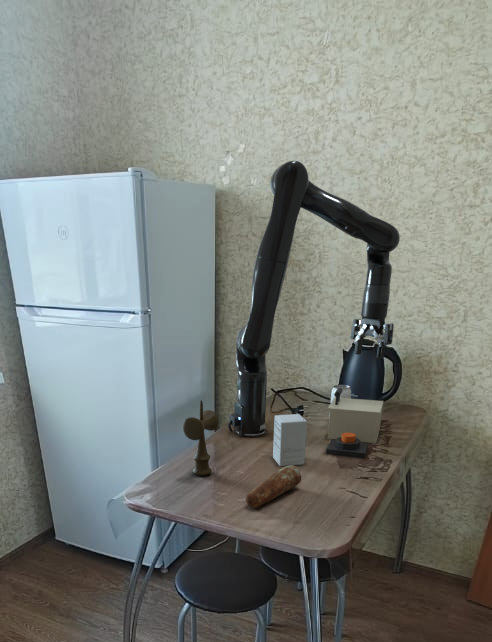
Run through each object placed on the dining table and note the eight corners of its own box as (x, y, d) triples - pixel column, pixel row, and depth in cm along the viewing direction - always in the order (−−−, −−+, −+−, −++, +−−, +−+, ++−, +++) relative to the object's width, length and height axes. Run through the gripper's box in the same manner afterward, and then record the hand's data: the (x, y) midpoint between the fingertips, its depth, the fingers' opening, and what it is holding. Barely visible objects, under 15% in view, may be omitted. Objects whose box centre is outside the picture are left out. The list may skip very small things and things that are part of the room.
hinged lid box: (327, 438, 181) (330, 410, 177) (333, 426, 192) (336, 400, 188) (375, 443, 176) (379, 415, 172) (379, 430, 188) (383, 403, 184)
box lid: (327, 410, 177) (328, 394, 175) (334, 399, 188) (335, 384, 186) (379, 415, 172) (381, 398, 170) (383, 403, 184) (385, 387, 181)
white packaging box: (296, 456, 167) (299, 413, 161) (304, 465, 160) (308, 420, 154) (272, 457, 166) (274, 414, 160) (278, 466, 159) (281, 422, 153)
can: (325, 420, 198) (328, 385, 193) (340, 418, 201) (344, 383, 195) (336, 425, 193) (339, 389, 188) (352, 423, 195) (356, 387, 190)
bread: (302, 487, 146) (304, 467, 143) (258, 512, 133) (259, 490, 130) (281, 481, 150) (282, 461, 147) (236, 505, 137) (237, 483, 134)
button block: (325, 454, 168) (326, 443, 166) (330, 444, 175) (331, 433, 174) (364, 458, 165) (365, 446, 163) (367, 448, 172) (368, 437, 171)
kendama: (183, 477, 153) (181, 403, 143) (201, 466, 160) (200, 394, 151) (202, 481, 150) (202, 406, 141) (220, 469, 157) (220, 397, 148)
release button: (340, 442, 167) (340, 435, 167) (342, 438, 171) (342, 431, 170) (354, 444, 166) (355, 437, 165) (355, 439, 170) (356, 433, 169)
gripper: (348, 299, 175) (343, 354, 182) (386, 303, 164) (378, 361, 172) (365, 298, 179) (359, 351, 186) (403, 302, 168) (395, 358, 176)
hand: (368, 356), depth 179 cm, fingers open, 8 cm apart
